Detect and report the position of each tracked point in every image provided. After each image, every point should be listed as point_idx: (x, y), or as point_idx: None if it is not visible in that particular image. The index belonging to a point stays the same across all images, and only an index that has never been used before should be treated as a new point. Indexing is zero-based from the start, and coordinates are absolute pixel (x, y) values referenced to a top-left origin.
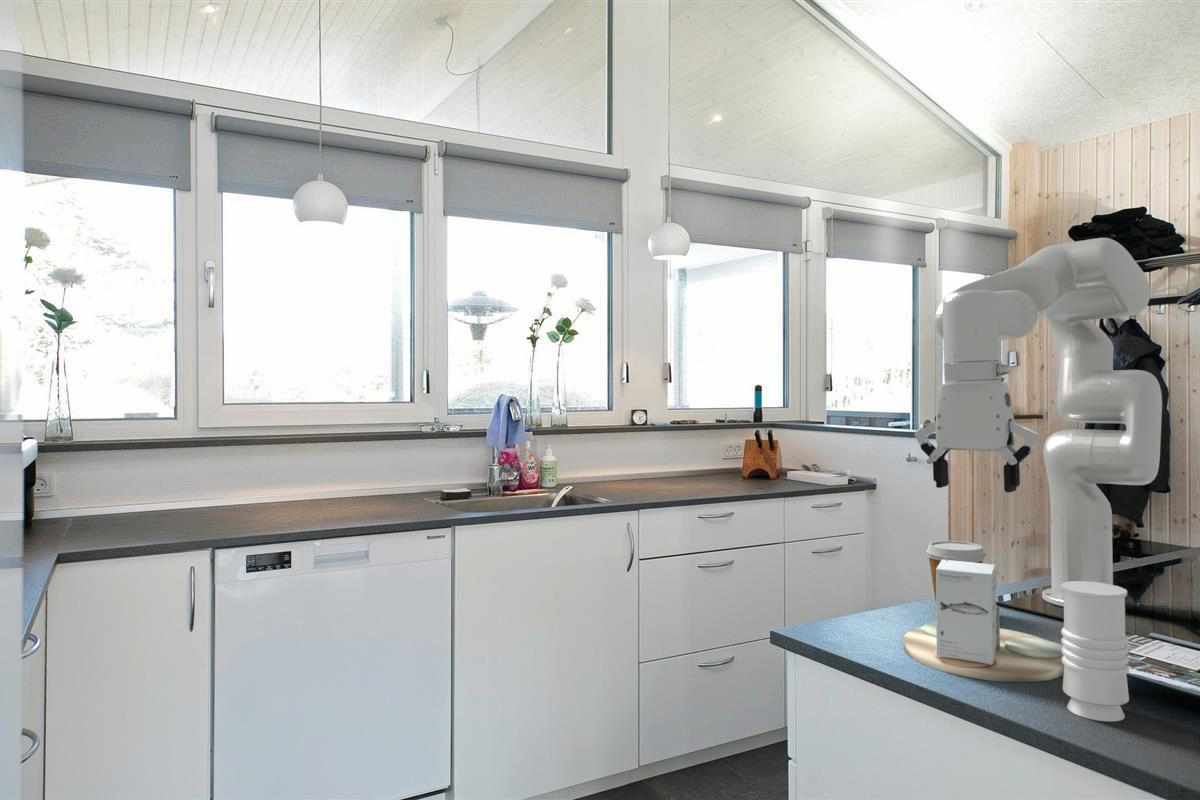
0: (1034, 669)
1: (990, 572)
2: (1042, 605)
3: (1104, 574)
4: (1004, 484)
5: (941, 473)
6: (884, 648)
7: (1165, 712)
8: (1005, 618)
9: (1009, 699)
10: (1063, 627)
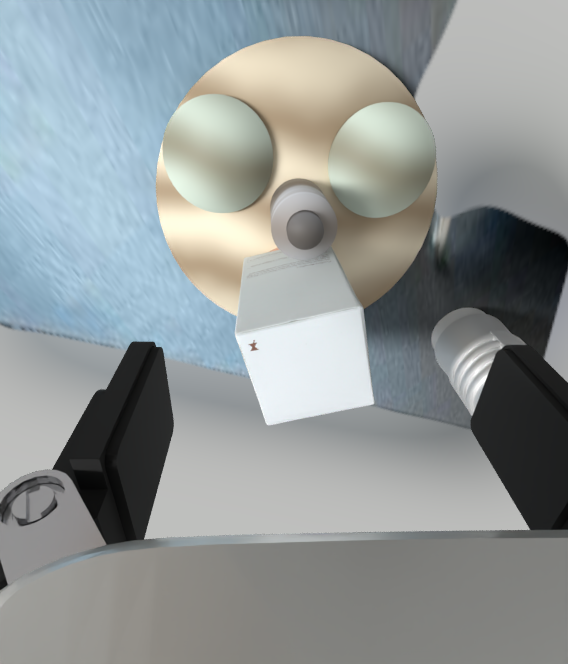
0: (390, 273)
1: (369, 395)
2: None
3: None
4: (485, 450)
5: (156, 478)
6: (159, 280)
7: (538, 286)
8: None
9: (370, 358)
10: (471, 397)
